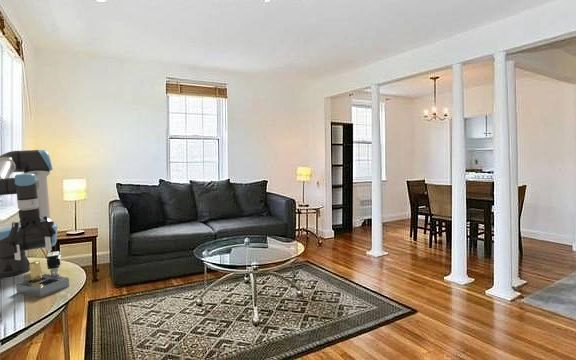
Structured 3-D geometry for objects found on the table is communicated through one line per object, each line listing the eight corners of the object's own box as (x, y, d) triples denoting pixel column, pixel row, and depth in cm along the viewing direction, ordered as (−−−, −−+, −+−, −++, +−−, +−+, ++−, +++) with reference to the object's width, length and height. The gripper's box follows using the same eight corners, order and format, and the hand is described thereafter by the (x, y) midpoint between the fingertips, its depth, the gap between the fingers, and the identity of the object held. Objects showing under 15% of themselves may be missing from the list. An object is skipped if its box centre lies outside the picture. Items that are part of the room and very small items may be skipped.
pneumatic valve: (48, 279, 174) (45, 255, 173) (50, 272, 184) (48, 249, 183) (61, 277, 177) (59, 253, 175) (63, 270, 187) (61, 247, 186)
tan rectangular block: (30, 289, 162) (27, 263, 161) (39, 286, 166) (36, 261, 165) (36, 290, 161) (33, 264, 160) (45, 287, 164) (42, 261, 163)
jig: (16, 293, 159) (15, 284, 158) (46, 282, 171) (45, 274, 170) (40, 297, 153) (39, 288, 152) (69, 286, 165) (68, 277, 164)
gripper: (2, 214, 147) (9, 264, 149) (61, 203, 170) (65, 247, 172) (-9, 213, 150) (-3, 263, 152) (50, 203, 172) (55, 246, 175)
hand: (34, 254), depth 162 cm, fingers open, 13 cm apart
